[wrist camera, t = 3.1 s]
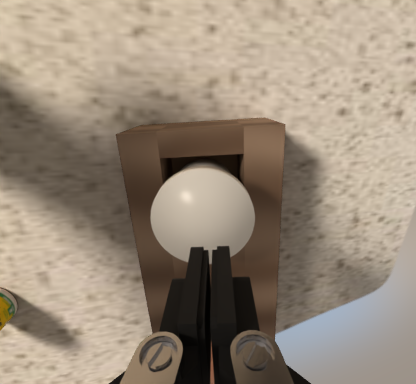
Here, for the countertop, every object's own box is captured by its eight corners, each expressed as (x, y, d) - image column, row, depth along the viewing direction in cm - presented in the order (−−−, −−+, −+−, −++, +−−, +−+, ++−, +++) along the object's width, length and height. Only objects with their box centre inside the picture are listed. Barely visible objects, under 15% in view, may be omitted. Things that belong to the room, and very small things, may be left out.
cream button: (162, 152, 20) (143, 173, 14) (242, 147, 20) (255, 167, 14) (171, 223, 22) (157, 266, 16) (243, 220, 22) (254, 262, 16)
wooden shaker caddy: (141, 125, 24) (115, 134, 18) (264, 117, 24) (285, 124, 17) (169, 312, 33) (158, 366, 26) (260, 309, 32) (273, 363, 26)
